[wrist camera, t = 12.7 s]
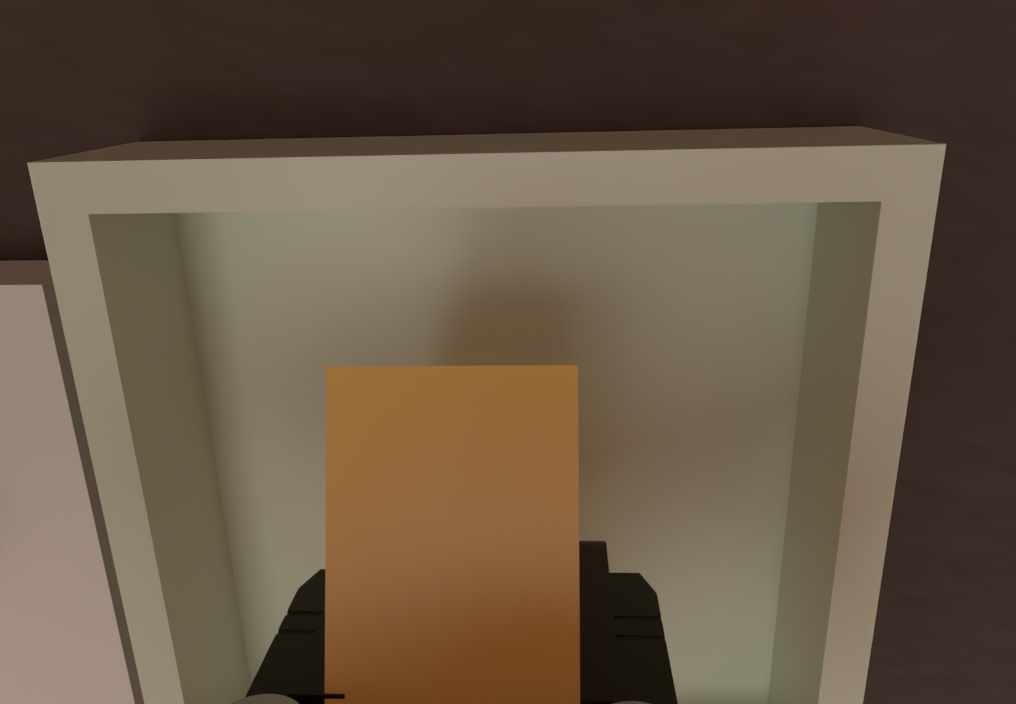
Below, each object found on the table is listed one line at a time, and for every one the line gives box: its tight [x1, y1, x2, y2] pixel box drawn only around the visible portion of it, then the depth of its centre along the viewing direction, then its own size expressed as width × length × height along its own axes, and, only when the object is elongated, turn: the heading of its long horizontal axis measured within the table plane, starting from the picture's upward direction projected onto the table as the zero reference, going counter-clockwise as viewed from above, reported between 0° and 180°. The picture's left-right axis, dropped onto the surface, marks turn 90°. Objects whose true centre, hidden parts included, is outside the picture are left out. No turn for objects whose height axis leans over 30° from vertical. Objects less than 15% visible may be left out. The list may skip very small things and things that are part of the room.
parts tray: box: [27, 126, 946, 704], centre depth 16 cm, size 14×14×4 cm
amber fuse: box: [325, 365, 580, 704], centre depth 12 cm, size 3×5×8 cm
